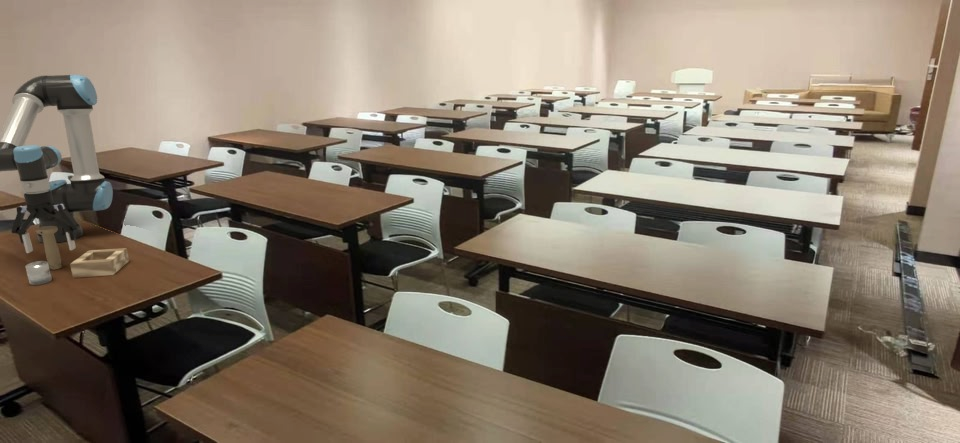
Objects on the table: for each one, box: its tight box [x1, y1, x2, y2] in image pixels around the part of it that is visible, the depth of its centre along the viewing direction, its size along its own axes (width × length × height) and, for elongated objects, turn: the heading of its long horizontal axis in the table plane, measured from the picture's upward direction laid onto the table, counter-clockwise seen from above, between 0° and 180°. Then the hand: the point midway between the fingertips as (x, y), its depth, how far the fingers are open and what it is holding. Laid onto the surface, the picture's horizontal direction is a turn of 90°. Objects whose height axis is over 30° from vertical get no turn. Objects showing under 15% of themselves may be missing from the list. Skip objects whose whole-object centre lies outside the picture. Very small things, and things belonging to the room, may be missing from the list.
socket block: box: [69, 247, 130, 279], centre depth 199 cm, size 14×12×5 cm
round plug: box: [25, 260, 52, 286], centre depth 189 cm, size 6×6×6 cm
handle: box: [35, 226, 63, 271], centre depth 199 cm, size 5×6×15 cm
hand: (51, 250), depth 199 cm, fingers open, 13 cm apart
